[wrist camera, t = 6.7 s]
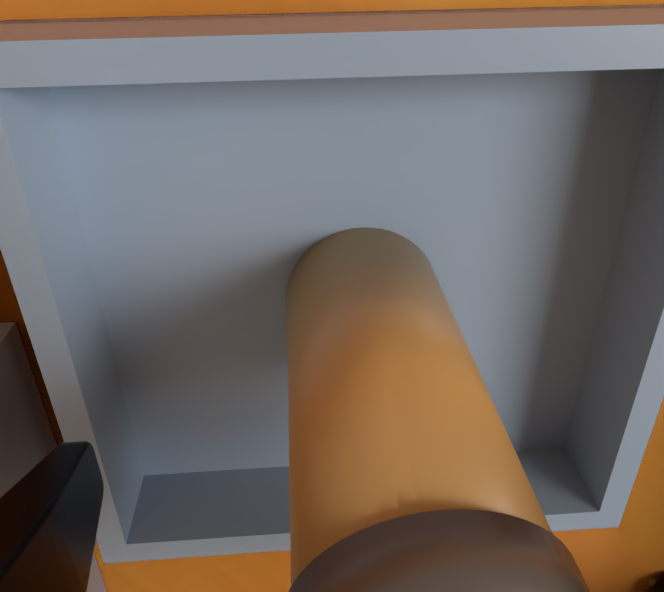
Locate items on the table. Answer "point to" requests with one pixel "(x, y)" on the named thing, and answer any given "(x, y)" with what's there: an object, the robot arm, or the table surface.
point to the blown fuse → (400, 437)
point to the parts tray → (322, 221)
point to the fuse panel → (24, 423)
